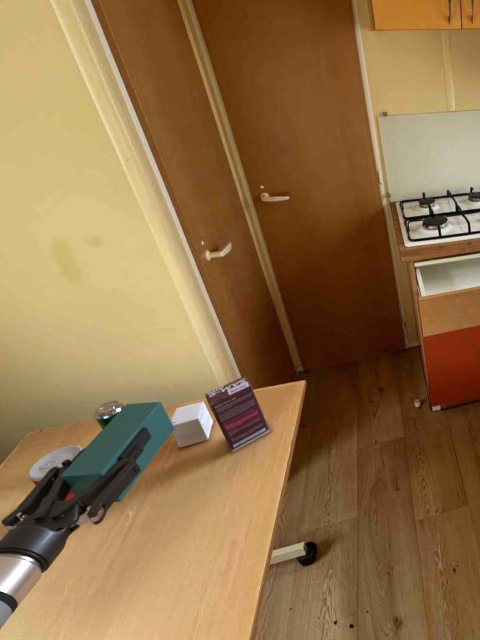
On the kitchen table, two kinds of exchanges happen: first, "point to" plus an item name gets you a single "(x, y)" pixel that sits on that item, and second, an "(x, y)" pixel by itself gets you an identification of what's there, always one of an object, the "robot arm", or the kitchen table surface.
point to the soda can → (107, 412)
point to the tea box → (120, 445)
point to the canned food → (53, 464)
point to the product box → (191, 424)
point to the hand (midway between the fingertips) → (126, 433)
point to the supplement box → (237, 413)
